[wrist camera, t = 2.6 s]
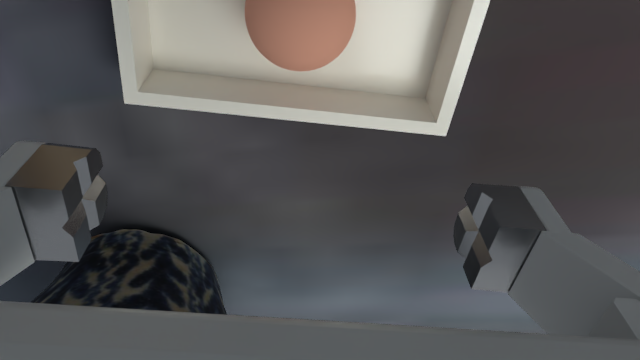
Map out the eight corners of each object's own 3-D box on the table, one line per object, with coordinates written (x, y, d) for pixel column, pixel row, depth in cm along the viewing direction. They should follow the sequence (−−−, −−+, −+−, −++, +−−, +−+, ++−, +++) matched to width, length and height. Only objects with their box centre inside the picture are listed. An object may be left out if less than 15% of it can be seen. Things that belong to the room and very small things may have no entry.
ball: (359, -49, 22) (371, -25, 18) (343, 54, 25) (350, 95, 21) (252, -63, 21) (239, -42, 17) (248, 43, 24) (236, 82, 20)
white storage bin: (491, -99, 21) (519, -91, 18) (431, 105, 27) (446, 136, 24) (122, -154, 20) (91, -154, 17) (144, 75, 26) (124, 103, 23)
